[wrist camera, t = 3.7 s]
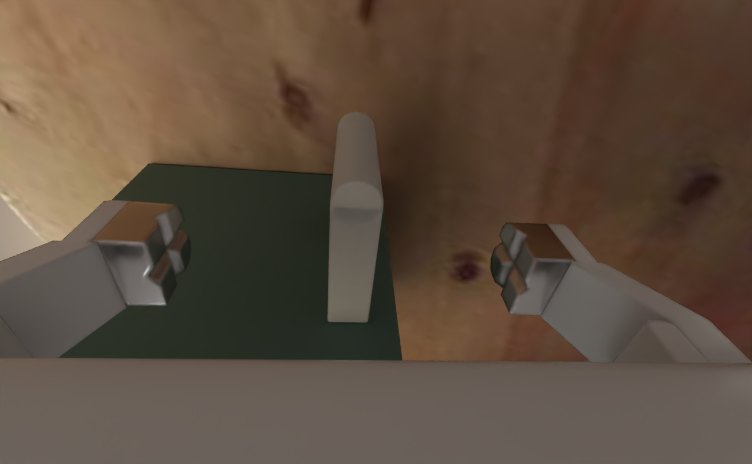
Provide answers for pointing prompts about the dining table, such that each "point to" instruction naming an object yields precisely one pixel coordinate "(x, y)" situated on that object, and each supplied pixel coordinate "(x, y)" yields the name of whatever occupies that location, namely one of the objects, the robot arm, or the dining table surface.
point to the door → (269, 264)
